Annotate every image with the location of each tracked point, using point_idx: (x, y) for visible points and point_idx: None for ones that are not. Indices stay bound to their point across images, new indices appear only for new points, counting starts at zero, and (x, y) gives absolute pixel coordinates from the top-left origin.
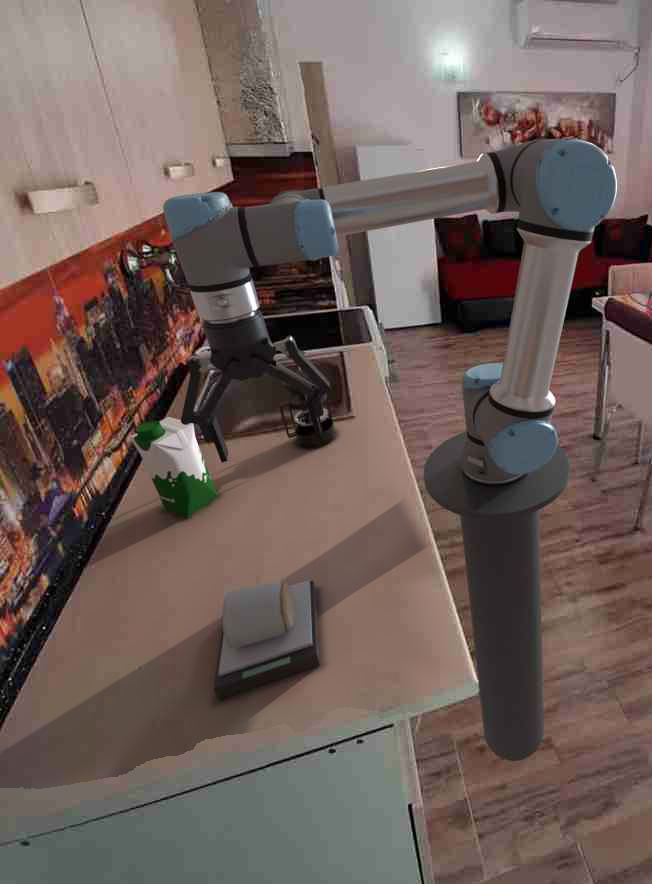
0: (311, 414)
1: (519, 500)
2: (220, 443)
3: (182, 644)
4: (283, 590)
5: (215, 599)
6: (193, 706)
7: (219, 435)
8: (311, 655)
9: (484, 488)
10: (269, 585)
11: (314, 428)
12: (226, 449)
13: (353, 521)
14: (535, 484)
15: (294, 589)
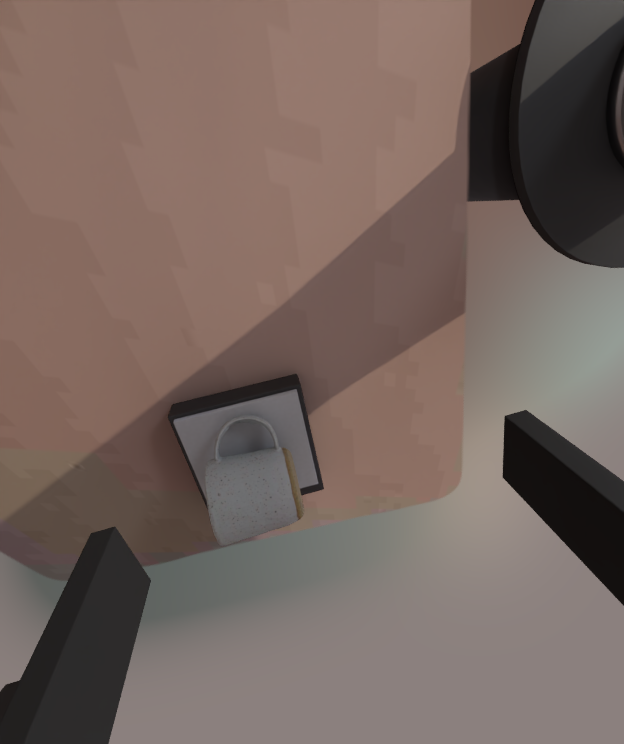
0: (618, 593)
1: None
2: (120, 691)
3: (119, 439)
4: (300, 507)
5: (126, 369)
6: (185, 507)
7: (90, 711)
8: (318, 490)
9: (619, 178)
10: (276, 503)
11: (541, 517)
12: (115, 565)
13: (345, 207)
14: None
15: (276, 407)
